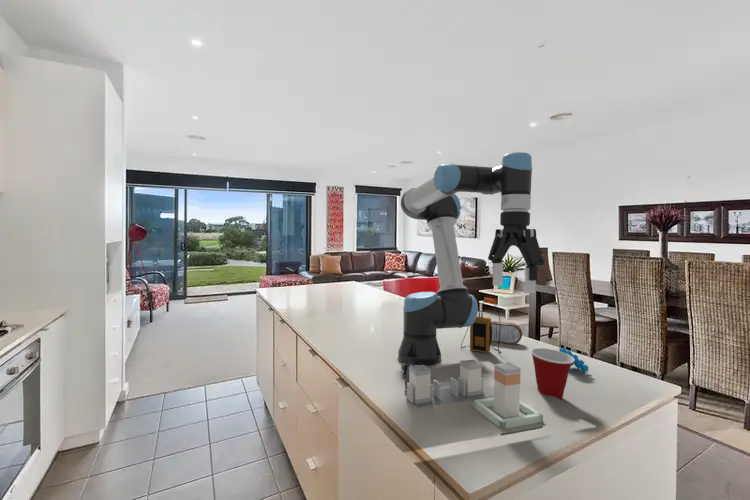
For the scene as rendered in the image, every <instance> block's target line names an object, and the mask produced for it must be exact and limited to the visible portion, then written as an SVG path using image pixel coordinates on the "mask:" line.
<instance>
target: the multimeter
mask: <svg viewBox="0 0 750 500" xmlns="http://www.w3.org/2000/svg"><path fill="white" fill-rule="evenodd" d="M475 299H476V300H477V303H478V315H477V317H476V320H475V322H474V323H473V324H472V325H471V326H468V327H467V328H466V332H465V335H464V337H463V339H462V340H461V344H460V349H463V348H466V347H465V346H462V345H463V342H464V341H465V338H466V335H467V332H468V331H469V346H470V347H469V350H470V351H475V352H480V353H485V354H489V353H490V352H491V348H492V349H493V350H495V351H497V353H499V354H500V353H502V351H501V350H500V348H499V346H500V343H499V342H497V343H498V344H497V348H496V347H493V346H492V326H491V321H492V318H491V317H488V316H487V317H485V316H484V313H483V312H484V311H483V307H484V306H483V305H484V303H486V302H487V300H485V301H483V302H482V305H481V303H480V301H479V300H478V299H477V298H475ZM489 302H490V303H492V304H493V305H494V307H495V308H496V311H497V313H498V314H497V315H498V318H499V319H498V320H499V321H498V322H501V317H500V313H499V309H498V307H497V305H496V304H495V303H494V302H493V301H492V300H489ZM500 329H501V325H500ZM499 340H500V332H499ZM462 347H463V348H462Z"/></svg>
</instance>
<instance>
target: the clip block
mask: <svg viewBox="0 0 750 500" xmlns="http://www.w3.org/2000/svg"><path fill="white" fill-rule="evenodd" d="M449 385H450V386H449V387H447V388H441V387H442V386H441V382H439V381H438V380H437V379H433V380H432V383H431V382H430V402H424V403H417V404H415V403H414V387H413V386H412V385H411V384H410V383H407V389H406V393H404V395H405V397H406V399H407V400H408V401H409V402H410V403H411V404H413V405H414V407H416V408H423V407H424V408H425V407H431V406H437V405H444V404H450V403H451V404H452V403H458V402H464V401H465V402H466V401H473V400H480V399H487V398H488V397H487V396H486V395H484V394H483V393H484V378H483V377H482V376H481V394H480V395H473V396H467V395H466V380H465V379H463V378H462V377H460V375H459V376H457V379H456V378H454V377H450V384H449Z"/></svg>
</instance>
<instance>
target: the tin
mask: <svg viewBox="0 0 750 500" xmlns="http://www.w3.org/2000/svg"><path fill="white" fill-rule="evenodd" d="M500 325H501V329H500ZM491 326H492V342H494V343H498V342H499V344H500V343H501V344H506V345H507V344H508V345H516V344H518V343H519V342H520V341H521V339H522V338H523V331H522V329H521V327H520V326H519V325H518V324H516V323H512V322H503V321H497V320H496V321H493V320H491ZM499 332H500V340H499ZM492 342H491V343H492Z"/></svg>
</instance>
